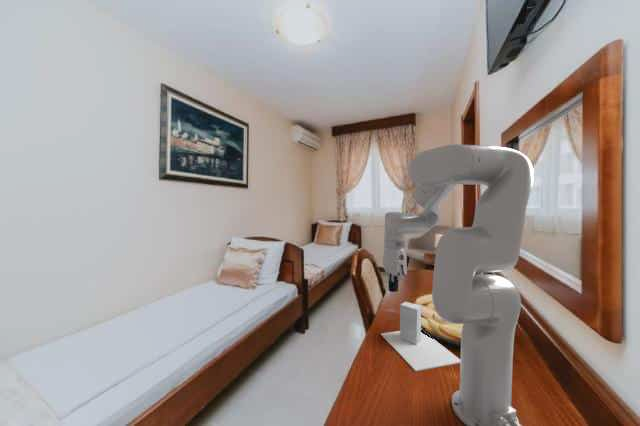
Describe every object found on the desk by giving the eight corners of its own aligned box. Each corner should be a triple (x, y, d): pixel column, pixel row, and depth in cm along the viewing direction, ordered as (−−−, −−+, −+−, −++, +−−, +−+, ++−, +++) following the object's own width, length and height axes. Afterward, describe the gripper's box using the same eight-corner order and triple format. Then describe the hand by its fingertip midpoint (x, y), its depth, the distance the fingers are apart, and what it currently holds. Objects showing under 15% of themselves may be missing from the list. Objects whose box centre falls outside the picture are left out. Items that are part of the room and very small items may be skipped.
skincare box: (421, 340, 84) (422, 305, 84) (416, 345, 81) (417, 309, 80) (404, 333, 88) (405, 301, 88) (399, 338, 85) (399, 304, 85)
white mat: (462, 362, 73) (462, 361, 73) (415, 371, 69) (415, 370, 69) (419, 329, 92) (419, 328, 92) (380, 334, 88) (380, 333, 88)
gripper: (415, 247, 88) (413, 297, 89) (392, 240, 102) (391, 283, 103) (396, 248, 86) (395, 299, 87) (376, 241, 100) (375, 285, 101)
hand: (393, 290), depth 95 cm, fingers closed
